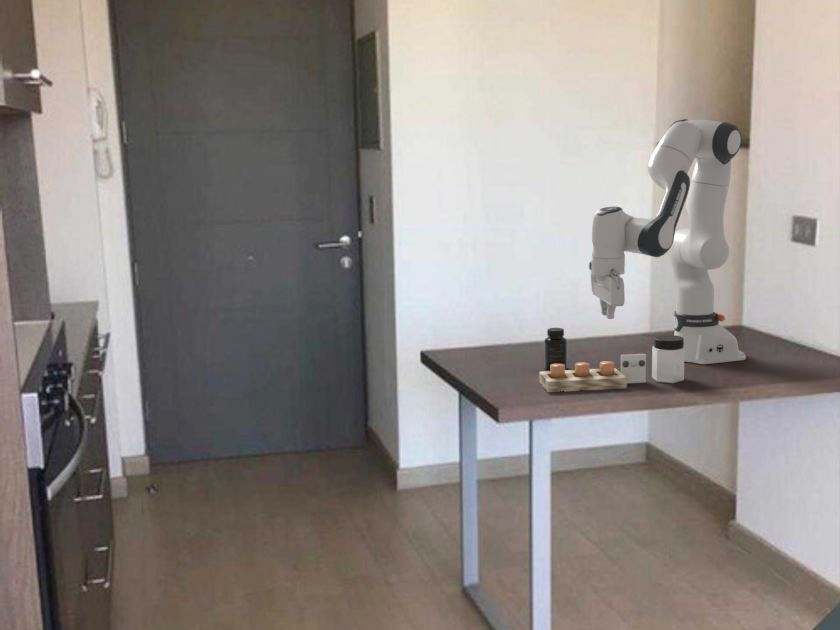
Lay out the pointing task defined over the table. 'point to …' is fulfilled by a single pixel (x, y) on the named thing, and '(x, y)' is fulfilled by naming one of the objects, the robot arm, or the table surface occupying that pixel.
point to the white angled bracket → (634, 367)
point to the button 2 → (607, 368)
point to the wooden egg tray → (582, 381)
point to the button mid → (582, 369)
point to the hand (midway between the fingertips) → (607, 316)
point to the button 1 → (557, 370)
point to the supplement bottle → (555, 348)
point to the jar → (668, 358)
